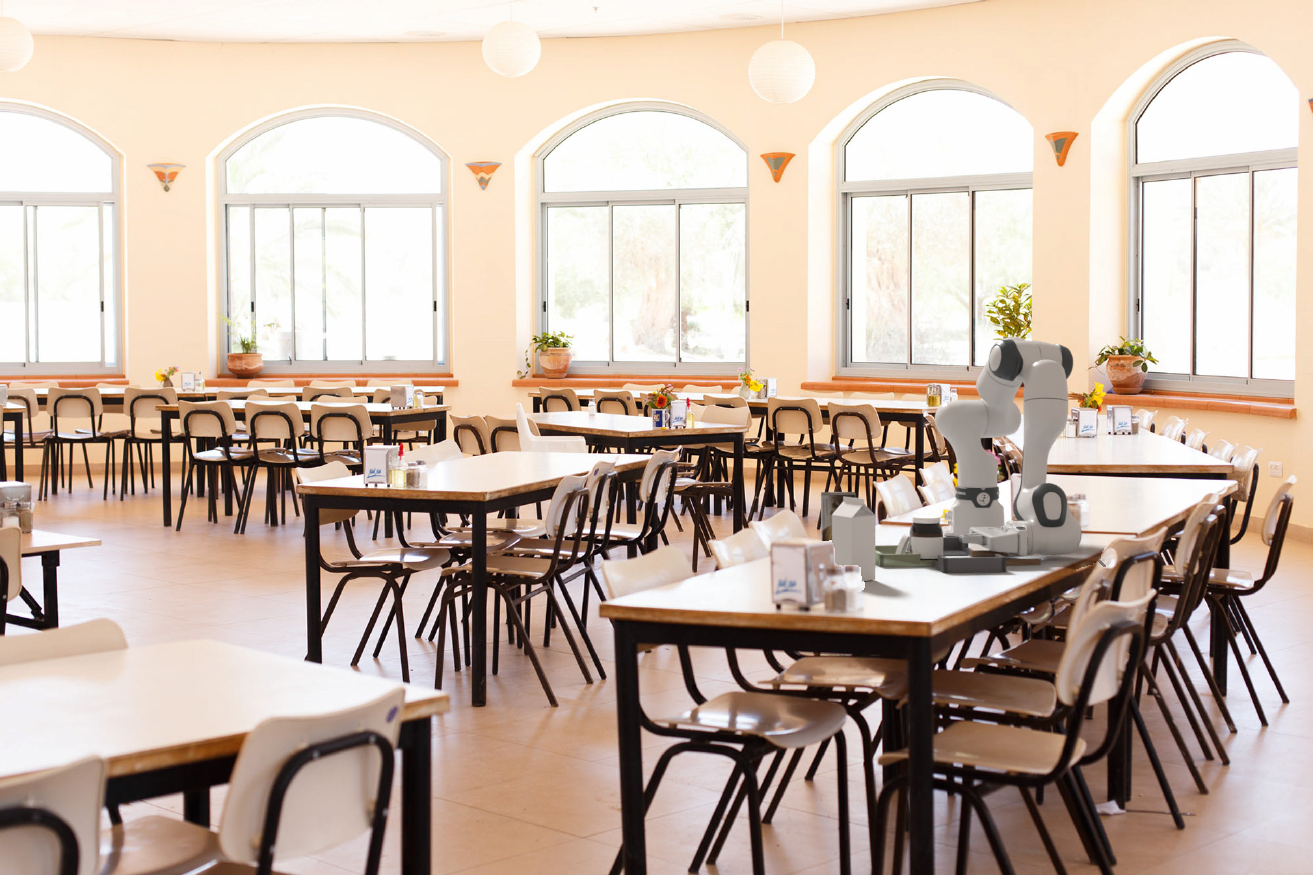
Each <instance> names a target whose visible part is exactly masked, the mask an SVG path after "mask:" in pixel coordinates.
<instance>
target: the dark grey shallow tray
mask: <svg viewBox="0 0 1313 875" xmlns="http://www.w3.org/2000/svg"><path fill="white" fill-rule="evenodd" d="M1006 559H1007V556H1002V555H1000V554H995V556H966V557H963V556H962V557H947V556H943V555H938V561H936V560H935V561H932V566H931V567H932V568H935V569H936V570H938V571H939V572H941V573H943V574H962V573H963V574H967V573H968V574H969V573H970V574H971V573H972V574H973V573H975V574H976V573H979V574H980V573H1007V565H1006Z"/></svg>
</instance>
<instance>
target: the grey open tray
mask: <svg viewBox="0 0 1313 875" xmlns="http://www.w3.org/2000/svg"><path fill="white" fill-rule="evenodd" d="M970 550H973V549H972V548H970V547H969V543H963V542H961V541H960V537H957V536H943V556H944V557H953V556H954V557H957V556H958V557H961V556H962V557H963V556H966V557H971V556H970ZM906 551H909V544H908V547H907V550H906Z"/></svg>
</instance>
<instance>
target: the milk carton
mask: <svg viewBox="0 0 1313 875" xmlns="http://www.w3.org/2000/svg"><path fill="white" fill-rule="evenodd" d="M832 543H833V546H834V548H835V563H836V564H837V565H842V566H844V565H858V566H859V567H861V576H862V581H861V582H868V581H874V580H876V564H875V546H876V514H874V512H873V511H872V510H871V509H870V508H869V507H868V506H867V505H866V504H865V499H864V498H860V497H856V498H852V497H843V502H842V503H841V504H840V506H839V507H838V508H837V509H836V510H835V512H834V513H833V514H832Z"/></svg>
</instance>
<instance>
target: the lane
mask: <svg viewBox="0 0 1313 875" xmlns="http://www.w3.org/2000/svg"><path fill="white" fill-rule="evenodd" d="M897 547H898V544H896V545H895V544H893V545H891V544H890V545H889V544H887V545H886V544H885V545H881V544H880V545H879V544H878V545H876V544H875V566H878V567H879V568H891V567H892V568H893V567H894V568H896V567H897V568H903V567H933V566H932V561H935V560H920V554H910V552H909V551H907V550H906V552H905V554H895V553H896V550H897ZM995 554H1000V555H1002V556H1004V557H1010V556H1009V555H1008V554H1007V553H1004V552H995V551H991V550H989V549H984V550H983V549H981V550H978V549H976V550H974V549H972V550H970V556H969V557H995ZM1041 564H1042V559H1041V558H1006V566H1038V565H1041Z"/></svg>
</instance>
